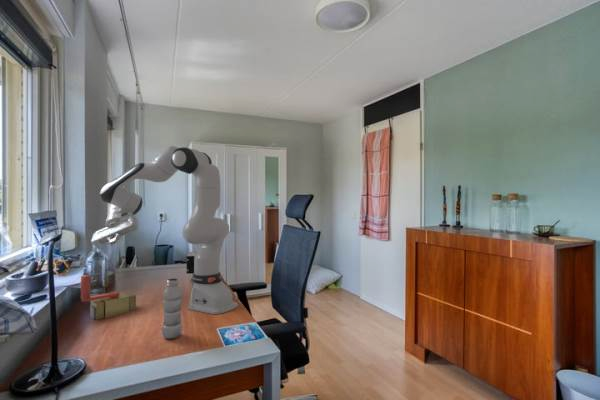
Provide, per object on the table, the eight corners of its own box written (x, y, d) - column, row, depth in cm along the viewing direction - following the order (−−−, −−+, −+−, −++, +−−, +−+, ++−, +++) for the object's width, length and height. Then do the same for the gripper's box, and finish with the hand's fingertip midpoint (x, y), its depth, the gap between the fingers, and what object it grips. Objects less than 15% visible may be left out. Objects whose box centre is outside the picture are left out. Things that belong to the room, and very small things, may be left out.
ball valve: (202, 285, 171) (202, 253, 171) (185, 286, 169) (186, 254, 169) (203, 277, 188) (204, 248, 188) (188, 278, 186) (189, 248, 186)
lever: (118, 293, 133) (118, 270, 133) (120, 295, 130) (120, 272, 130) (79, 300, 123) (80, 275, 123) (81, 303, 120) (81, 277, 120)
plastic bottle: (175, 331, 113) (176, 276, 113) (185, 336, 108) (186, 279, 108) (158, 337, 108) (158, 279, 108) (168, 343, 103) (168, 283, 103)
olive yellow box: (129, 305, 139) (130, 290, 139) (137, 309, 134) (137, 294, 134) (88, 315, 126) (88, 299, 126) (95, 320, 121) (95, 303, 121)
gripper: (90, 228, 144) (85, 248, 133) (133, 210, 146) (131, 228, 136) (99, 237, 148) (94, 257, 138) (140, 219, 150) (139, 238, 140)
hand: (113, 243), depth 137 cm, fingers closed
